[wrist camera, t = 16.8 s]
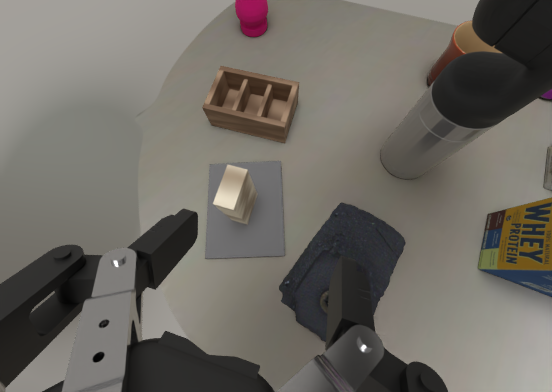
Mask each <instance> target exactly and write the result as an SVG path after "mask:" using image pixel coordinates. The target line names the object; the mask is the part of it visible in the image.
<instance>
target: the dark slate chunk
mask: <svg viewBox="0 0 552 392" xmlns="http://www.w3.org/2000/svg"><path fill="white" fill-rule="evenodd" d="M404 245H405V240H404V238H403V237H402V236H401V235H400V234H399V233H398V232H397V231H396V230H395V229H394V228H392V227H391V226H389V225H387V224H386V223H385V222H384V221H382V220H380V219H378V218H377V217H374V216H373V215H372V214H370V213H368V212H365V211H363V210H359V209H358V208H357V207H355V206H352V205H347V204H344V203H340V204H339V205H338V207H337V208H336V209H335V210H334V211H333V212H332V214H331V216H330V218H329V219H328V220H327V221H326V222H325V224H324V225H323V226H322V227H321V229H320V230H319V231H318V233H317V234H316V235H315V236H314V238H313V239H312V241H311V242H310V243H309V245H308V247H307V248H306V249H305V250H304V252H303V254H302V255H301V256H300V258H299V259H298V261H297V262H296V263H295V265H294V267H293V268H292V269H291V271H290V272H289V274H288V275H287V276H286V277H285V278H284V280H283V282H282V283H281V285H280V286H279V290H280V291H281V292H282V293H283V298H282V300H281V301H282V303H284V304H286V305H287V306H289V307H290V308H291V309H292V310H293V311H295V313H296V321H297V322H298V323H299V324H301V325H303V326H304V327H306V328H308V329H309V330H310V331H312V332H314V333H315V334H317V335H318V336H319V337H320V338H321V340H323V341H325V342H326V333H327V316H328V304H327V303H328V299H329V285H330V280H331V277H332V274H333V272H334V269H335V267H336V265H337V262H338V260H339V258H340V256H344V257H347V258H350V259H354V260H356V269H357V271H358V272H362V273H364V274H365V276H366V278H367V280H368V282H369V287H370V295H371V303H372V311H373V315H374V313H375V310H376V307H377V304H378V302H379V300H380V297H382V296H383V295H384V291H385V290H386V288H387V286H388V284H389V281H390V276H391V274H392V273H393V270H394V268H395V266H396V263H397V260H398V258H399V257H400V255H401V254H402V252H403V247H404Z"/></svg>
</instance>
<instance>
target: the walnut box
mask: <svg viewBox="0 0 552 392" xmlns="http://www.w3.org/2000/svg"><path fill="white" fill-rule="evenodd" d="M298 90H299V82H295V81H290V80H285V79H281V78H276V77H271V76H266V75H262V74H257V73H252V72H248V71H243V70H238V69H233V68H229V67H224V66H220V69H219V71H218V73H217V75H216V78H215V80H214V82H213V84H212V87H211V89H210V91H209V94H208V96H207V98H206V100H205V103H204V105H203V107H202V108H203V110H204V112H205V114H206V116H207V117H208V119H209V121H210V123H211V125H213V126H217V127H221V128H225V129H229V130H234V131H238V132H242V133H246V134H250V135H254V136H258V137H262V138H266V139H270V140H274V141H278V142H283V143H285V141H286V138H287V134H288V131H289V128H290V125H291V122H292V119H293V116H294V112H295V109H296V106H297V103H298Z"/></svg>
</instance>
